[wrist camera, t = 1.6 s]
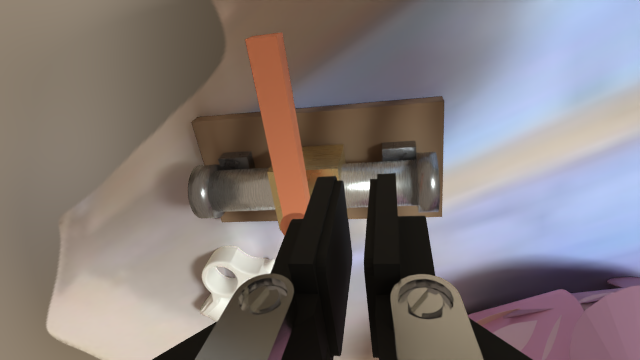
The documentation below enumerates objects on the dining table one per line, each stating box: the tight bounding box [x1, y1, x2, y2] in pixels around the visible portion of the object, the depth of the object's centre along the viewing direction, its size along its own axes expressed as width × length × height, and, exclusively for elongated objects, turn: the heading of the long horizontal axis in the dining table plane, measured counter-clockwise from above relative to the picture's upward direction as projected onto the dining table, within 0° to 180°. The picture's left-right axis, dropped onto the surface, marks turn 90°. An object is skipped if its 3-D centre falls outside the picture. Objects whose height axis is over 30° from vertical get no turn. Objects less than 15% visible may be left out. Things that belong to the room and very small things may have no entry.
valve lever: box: [245, 32, 310, 235], centre depth 27 cm, size 3×15×1 cm, turn 8°
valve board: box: [191, 96, 444, 222], centre depth 38 cm, size 24×12×2 cm, turn 98°
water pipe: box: [188, 141, 440, 230], centre depth 34 cm, size 22×6×8 cm, turn 98°
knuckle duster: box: [199, 246, 275, 322], centre depth 49 cm, size 3×18×15 cm
